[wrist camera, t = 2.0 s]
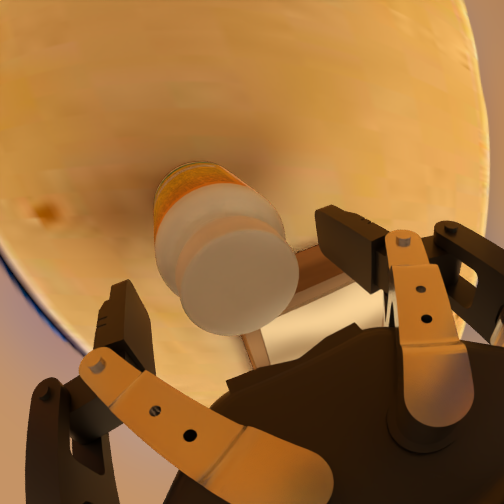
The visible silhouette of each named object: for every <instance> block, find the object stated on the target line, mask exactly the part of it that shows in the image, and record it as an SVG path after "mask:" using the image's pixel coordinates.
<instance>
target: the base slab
mask: <svg viewBox="0 0 504 504" xmlns="http://www.w3.org/2000/svg"><path fill="white" fill-rule="evenodd" d="M295 255H296V258H297V261H298V267H299V280H298V284H297V288H296V291H295V294H294V296H293V298H292V300H291V301H290V303H289V304H288V306H287V307H286V308H285V310H284V311H283V312H282V313H281V314H280V315H279V316H278V317H277V318H275V319H274V320H273V321H271V322H270V323H269V324H267V325H266V326H264V327H262V328H260V329H258V330H256V331H253V332H250V333H246V334H242V335H241V337H242V339H243V342H244V345H245V348H246V350H247V353H248V356H249V358H250V361H251V364H252V366H253V369H257V368H259V367H264V366H269V365H273V364H278V363H282V362H287V361H291V360H295V359H298V358H300V357H301V356H303V355H304V354H305V353H306V352H308V351H309V350H310V349H312V348H313V347H314V346H315V345H317V344H318V343H319V342H320V341H322V340H323V339H324V338H325V337H327V336H329V335H331V334H333V333H335V332H337V331H339V330H341V329H342V328H344V327H346V326H348V325H350V324H352V323H354V322H355V323H356V324H357V325H358V326H359V327H360V328H361V329H362V330H363V329H368V328H373V327H384V317H383V290H379V291H377V292H375V293H373V294H371V295H370V294H369V293H368V292H367V291H366V290H364V289H363V288H362V287H361V286H360V285H359V284H357V283H356V282H355V281H354V280H353V279H352V278H350V277H349V276H348V275H347V274H346V273H344V272H343V271H342V270H341V269H340V268H338V267H337V266H336V265H335V264H334V263H332V262H331V261H330V260H329V259H328V258H326V257H325V256H324V255H323V253H322V252H321V250H320V247H319V245H317V246H314V247H312V248H309V249H307V250H304V251H302V252H299V253H296V254H295Z"/></svg>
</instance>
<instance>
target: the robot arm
mask: <svg viewBox="0 0 504 504" xmlns="http://www.w3.org/2000/svg"><path fill="white" fill-rule="evenodd" d="M315 221H316V229H317V236H318V244H319V247H320V250H321V252H322V253H323V255H324V256H325V257H326V258H328V259H329V260H330V261H331V262H332V263H334V264H335V265H336V266H337V267H338V268H340V269H341V270H342V271H343V272H344V273H346V274H347V275H348V276H349V277H350V278H352V279H353V280H354V281H355V282H356V283H357V284H359V285H360V286H361V287H362V288H363V289H364V290H366V291H367V292H368V293H369V294H370V295H371V294H373V293H375V292H377V291H379V290H383V317H384V327H373V328H368V329H363V330H362V329H361V328H360V327H359V326H358V325H357V324H356V323H355V322H354V323H352V324H350V325H348V326H346V327H344V328H342V329H341V330H339V331H337V332H335V333H333V334H331V335H329V336H327V337H325V338H324V339H323V340H322V341H320V342H319V343H318V344H317V345H315V346H314V347H313V348H312V349H310V350H309V351H308V352H306V353H305V354H304V355H303V356H301V357H300V358H298V359H295V360H291V361H287V362H282V363H278V364H273V365H269V366H264V367H259V368H257V369H254V370H252V371H249V372H247V373H244V374H242V375H239V376H237V377H234V378H232V379H229V380H226V383H227V386H228V388H229V391H228V392H227V393H225V394H224V395H222V396H221V397H220V398H219V399H217V400H216V401H215V402H214V403H213V404H212V405H211V407H210V408H207V407H205V406H204V405H202V404H200V403H198V402H197V401H195V400H193V399H192V398H190V397H188V396H187V395H185V394H183V393H182V392H180V391H178V390H177V389H175V388H173V387H172V386H170V385H169V384H167V383H166V382H164V381H163V380H161V379H159V378H158V377H156V371H155V362H154V353H153V344H152V333H151V322H150V318H149V315H148V313H147V311H146V309H145V307H144V305H143V303H142V301H141V300H140V298H139V296H138V294H137V292H136V290H135V288H134V286H133V284H132V283H131V281H130V280H129V279H127V280H125V281H122V282H120V283H117V284H115V285H112V286H111V292H110V298H109V300H107V301H105V302H104V303H103V305H102V307H101V308H100V310H99V313H98V319H97V320H98V321H97V326H96V327H97V329H96V332H95V339H94V347H93V350H92V351H91V352H89V353H88V354H87V355H86V356H85V357H84V358H83V360H82V361H81V363H80V366H79V376H77V377H76V378H74V379H72V380H71V381H69V382H68V383H66V384H64V385H62V383H61V382H60V381H59V380H58V379H56V378H53V377H51V378H47V379H45V380H43V381H42V382H40V383H39V384H38V386H37V387H36V388H35V390H34V392H33V394H32V398H31V405H30V413H29V421H28V431H27V442H26V463H25V492H26V504H120V503H119V497H118V492H117V488H116V482H115V476H114V470H113V464H112V457H111V450H110V442H109V433H108V432H110V431H111V430H113V429H115V428H116V427H118V426H119V425H121V424H123V423H124V424H125V425H126V426H128V428H130V429H131V430H132V431H133V432H134V433H135V434H136V435H137V436H138V437H140V438H141V439H142V440H143V441H144V442H145V443H147V444H148V445H149V446H150V447H151V448H152V449H154V450H155V451H156V452H157V453H159V454H160V455H161V456H162V457H164V458H165V459H166V460H168V461H169V462H170V463H171V464H173V465H174V466H175V467H177V468H178V469H179V470H178V472H177V474H176V477H175V479H174V481H173V483H172V485H171V487H170V490H169V492H168V494H167V496H166V498H165V500H164V502H163V504H504V249H502V248H501V247H499V246H497V245H496V244H494V243H492V242H491V241H489V240H487V239H486V238H484V237H482V236H481V235H479V234H477V233H475V232H474V231H472V230H470V229H468V228H467V227H465V226H463V225H461V224H459V223H457V222H453V221H440V222H438V223H436V224H435V226H434V235H433V236H428V237H424V238H421V237H420V236H419V235H418V234H417V233H415V232H412V231H409V230H395V231H392V232H389V231H387V230H386V229H384V228H382V227H380V226H378V225H377V224H375V223H373V222H372V223H371V221H369V220H367V219H365V218H364V217H362V216H360V215H358V214H356V213H351V212H346V211H344V210H342V209H340V208H338V207H336V206H334V205H329V206H326V207H323V208H320V209H318V210H316V211H315ZM462 262H463V263H464V264H466V265H467V266H469V267H470V268H472V269H473V270H474V271H475V272H476V273H477V276H478V285H477V288H476V287H475V286H473V285H472V284H471V283H469V282H468V281H467V280H465V279H464V278H463V277H461V276H460V275H459V273H460V268H461V263H462ZM451 309H452V310H453V311H454V312H455V313H456V314H457V315H458V316H460V317H461V318H462V319H463V320H464V321H465V322H466V323H468V324H469V325H470V326H471V327H472V328H473V329H474V330H475V331H477V333H479V334H480V335H481V336H482V337H483V338H484V339H485V340H486V341H487V342H488V343H489V344H490V345H488V344H482V343H476V342H470V341H464V340H459V338H458V333H457V329H456V325H455V321H454V317H453V313H452V310H451ZM70 437H71V438H72V452H73V455H72V454H71V451H70Z"/></svg>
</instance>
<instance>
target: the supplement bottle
mask: <svg viewBox="0 0 504 504" xmlns="http://www.w3.org/2000/svg"><path fill="white" fill-rule="evenodd" d="M153 216H154V242H155V257H156V262H157V267H158V270H159V272H160V275H161V277H162V278H163V280H164V282H165V283H166V285H167V286H168V287H169V288H170V289H171V290H172V291H173V292H174V293H175V294H176V295H177V296H179V297H180V300H181V304H182V306H183V309H184V311H185V313H186V314H187V316H188V317H189V318H190V320H191V321H192V322H193V323H195V324H196V325H197V326H198V327H200V328H201V329H203V330H205V331H207V332H210V333H213V334H217V335H224V336H235V335H242V334H246V333H250V332H253V331H256V330H258V329H260V328H262V327H264V326H266V325H267V324H269V323H270V322H271V321H273V320H274V319H275V318H277V317H278V316H279V315H280V314H281V313H282V312H283V311H284V310H285V308H286V307H287V306H288V304H289V303H290V301H291V300H292V298H293V296H294V294H295V291H296V288H297V284H298V280H299V267H298V261H297V258H296V255H295V254H294V252H293V250H292V249H291V247H290V246H289V245H288V243H287V242H286V241H285V232H284V227H283V224H282V221H281V218H280V216H279V214H278V213H277V211H276V210H275V208H274V207H273V206H272V204H271V203H270V202H269V201H268V200H267V199H266V198H265V197H263V196H262V195H261V194H259V193H258V192H257V191H255V190H254V189H252V188H251V187H250V186H248V185H247V184H246V183H244V182H243V181H242V180H240V179H239V178H238V177H236V176H235V175H233V174H232V173H231V172H229V171H228V170H226V169H225V168H223V167H222V166H220V165H217V164H215V163H211V162H205V161H197V162H191V163H187V164H184V165H181V166H179V167H177V168H175V169H174V170H172V171H171V172H170V173H168V174H167V175H166V176H165V178H164V179H163V180H162V181H161V183H160V185H159V186H158V188H157V191H156V194H155V197H154V206H153Z"/></svg>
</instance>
